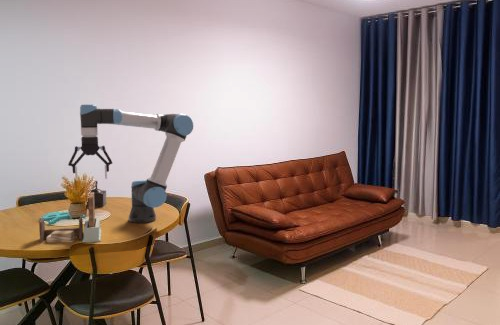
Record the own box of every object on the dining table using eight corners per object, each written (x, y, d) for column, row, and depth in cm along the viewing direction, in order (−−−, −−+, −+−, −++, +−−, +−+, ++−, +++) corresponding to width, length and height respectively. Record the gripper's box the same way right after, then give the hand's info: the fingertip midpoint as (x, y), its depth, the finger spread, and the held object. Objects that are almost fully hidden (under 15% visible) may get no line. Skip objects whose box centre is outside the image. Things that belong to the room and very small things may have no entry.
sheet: (93, 238, 191) (92, 197, 189) (89, 239, 190) (88, 198, 188) (95, 230, 205) (94, 192, 203) (90, 230, 204) (89, 192, 202)
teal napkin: (85, 219, 231) (68, 213, 244) (85, 215, 231) (68, 209, 244) (50, 225, 216) (34, 219, 229) (50, 221, 216) (34, 215, 228)
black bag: (89, 204, 268) (89, 177, 266) (106, 203, 270) (106, 177, 267) (82, 209, 253) (82, 181, 251) (100, 209, 254) (100, 181, 252)
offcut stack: (76, 239, 193) (76, 230, 193) (73, 242, 188) (72, 233, 188) (51, 239, 192) (50, 230, 192) (46, 242, 187) (46, 233, 187)
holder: (101, 230, 208) (101, 217, 207) (100, 241, 190) (100, 227, 189) (84, 231, 206) (84, 218, 205) (82, 242, 187) (81, 228, 187)
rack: (82, 235, 199) (82, 215, 198) (81, 239, 192) (81, 219, 191) (42, 237, 193) (42, 217, 192) (40, 242, 186) (39, 222, 185)
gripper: (115, 135, 203) (117, 176, 206) (62, 136, 194) (64, 179, 197) (116, 136, 196) (118, 178, 199) (60, 137, 187) (63, 181, 190)
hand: (91, 179), depth 198 cm, fingers open, 13 cm apart
